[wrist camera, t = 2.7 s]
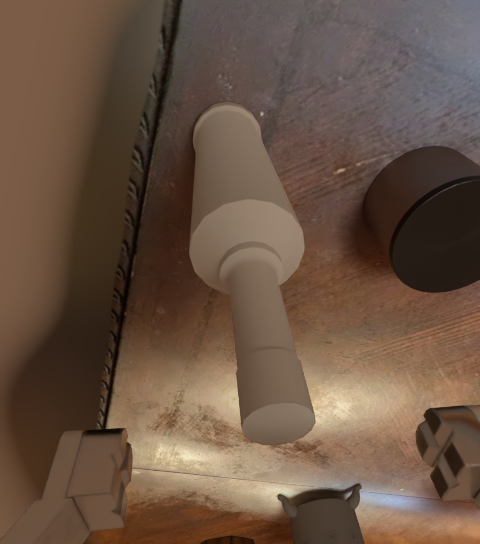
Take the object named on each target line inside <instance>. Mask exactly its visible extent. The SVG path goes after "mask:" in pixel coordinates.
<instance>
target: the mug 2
mask: <svg viewBox="0 0 480 544" xmlns="http://www.w3.org/2000/svg"><path fill="white" fill-rule="evenodd" d="M361 488H362V486H361V485H360V484H358V485H356V486H355V487H354V489H353V492H352V494H351V495H350V496H349V497H348V498H347V499H346V500H343V499H337V498H327V499H319V500H314V501H311V502H308V503H305V504H303V505H301V506H299V507H297V506H296V505H294V504H292V503H290V502H289V501H288V500H287V499H286V497H284V496H283V495H278V499H279V500H281V502H282V505H283V508H284V510H285V512H286V513H287V514H288V515H289V516H290V524H291V530H292V536H293V542H294V544H364V540H363V537H362V533H361V530H360V527H359V523H358V520H357V516H356V513H355V510H354V509H355V508H356V507H357V506H358V504H359V501H360V493H359V490H360V489H361Z"/></svg>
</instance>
